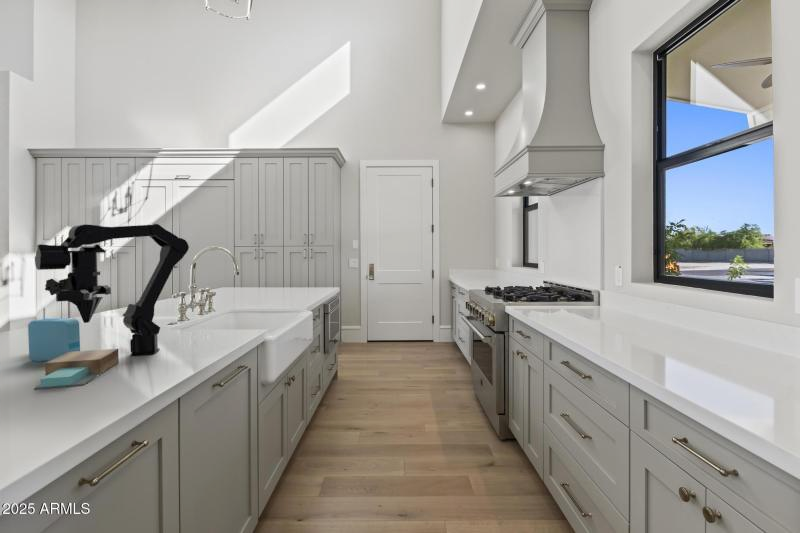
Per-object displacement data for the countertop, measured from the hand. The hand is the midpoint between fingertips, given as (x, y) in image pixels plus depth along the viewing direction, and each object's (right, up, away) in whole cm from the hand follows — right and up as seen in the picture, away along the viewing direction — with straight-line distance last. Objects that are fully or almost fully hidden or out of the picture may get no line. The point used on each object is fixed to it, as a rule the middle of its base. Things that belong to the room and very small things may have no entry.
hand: (86, 322), depth 115 cm
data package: (-14, -12, +6) cm, 19 cm away
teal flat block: (+7, -12, -16) cm, 21 cm away
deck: (+4, -12, -6) cm, 14 cm away
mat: (+8, -13, -15) cm, 21 cm away
